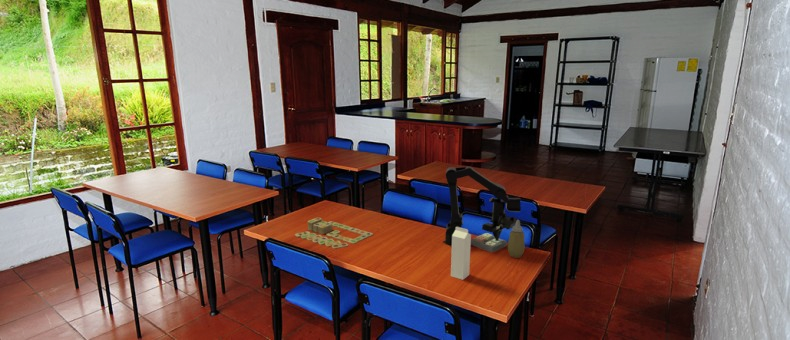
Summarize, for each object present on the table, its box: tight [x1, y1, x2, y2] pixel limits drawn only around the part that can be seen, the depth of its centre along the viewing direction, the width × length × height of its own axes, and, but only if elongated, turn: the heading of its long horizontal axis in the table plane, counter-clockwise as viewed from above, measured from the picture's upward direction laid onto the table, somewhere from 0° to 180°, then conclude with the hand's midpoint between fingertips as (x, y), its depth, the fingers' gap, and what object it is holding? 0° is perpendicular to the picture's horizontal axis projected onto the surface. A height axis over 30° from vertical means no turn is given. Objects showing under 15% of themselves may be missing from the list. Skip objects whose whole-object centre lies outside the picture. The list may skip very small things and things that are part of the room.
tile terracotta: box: [474, 234, 487, 243], centre depth 215 cm, size 4×4×2 cm
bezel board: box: [471, 234, 508, 254], centre depth 215 cm, size 12×13×3 cm
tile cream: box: [485, 241, 496, 246], centre depth 211 cm, size 4×4×2 cm
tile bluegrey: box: [491, 238, 504, 244], centre depth 214 cm, size 4×4×2 cm
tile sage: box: [481, 232, 494, 240], centre depth 219 cm, size 4×4×2 cm
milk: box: [450, 227, 472, 281], centre depth 181 cm, size 6×6×22 cm
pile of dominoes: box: [294, 217, 374, 250], centre depth 228 cm, size 35×27×6 cm
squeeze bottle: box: [506, 219, 526, 259], centre depth 202 cm, size 8×8×18 cm
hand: (496, 239), depth 214 cm, fingers closed, pressing on tile bluegrey
